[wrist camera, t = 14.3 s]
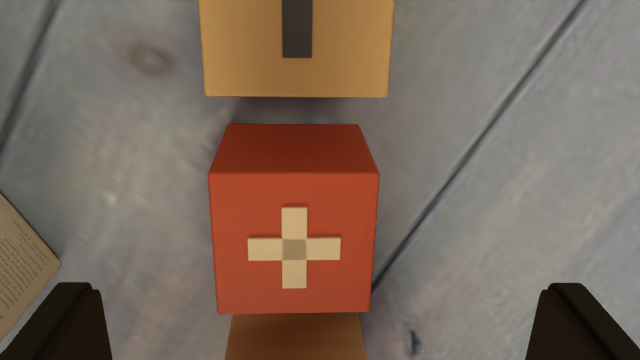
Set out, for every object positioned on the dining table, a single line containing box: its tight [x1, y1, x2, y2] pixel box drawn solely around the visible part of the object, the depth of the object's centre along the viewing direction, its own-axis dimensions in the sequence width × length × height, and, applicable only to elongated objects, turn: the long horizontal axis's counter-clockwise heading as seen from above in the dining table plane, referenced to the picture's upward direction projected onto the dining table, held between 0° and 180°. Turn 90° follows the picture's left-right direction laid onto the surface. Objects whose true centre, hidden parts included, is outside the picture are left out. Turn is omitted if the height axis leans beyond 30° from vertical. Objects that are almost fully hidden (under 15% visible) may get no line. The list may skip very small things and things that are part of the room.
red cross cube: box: [208, 124, 380, 314], centre depth 16 cm, size 5×5×5 cm
